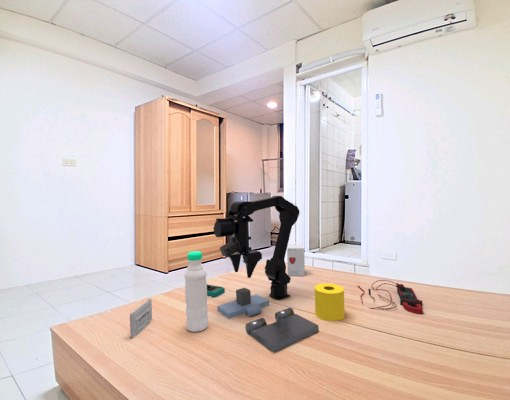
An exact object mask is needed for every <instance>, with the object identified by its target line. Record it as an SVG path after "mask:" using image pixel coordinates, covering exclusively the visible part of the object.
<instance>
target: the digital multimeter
mask: <svg viewBox="0 0 510 400" xmlns="http://www.w3.org/2000/svg"><path fill="white" fill-rule="evenodd" d="M225 290H226V289H225V287H224V286H217V285H211V284H207V297H210V296H211V298H214V297H215V298H217V297H219V296H221V295H223V294H224V293H225V292H226V291H225Z"/></svg>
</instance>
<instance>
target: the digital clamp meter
mask: <svg viewBox="0 0 510 400" xmlns="http://www.w3.org/2000/svg"><path fill="white" fill-rule="evenodd" d="M381 281H382V282H383V281H385V282H390V283H381V284H380V285H378V286H377V287H376V288H374V287H373V285H374V284H375V283H377V282H381ZM391 283H392V284H391ZM382 285H390V286H393V287H396V293H397V295H398V297H399V299H400V300H399V302H400V306H402V308H403V309H404V310H405V311H407V312H409V313H411V314H415V315H423V300H421V299H418V297H417V295H416V293H415V291H414V289H413V288H412V287H406V286H405V285H404V284H403V283H398V282H393V281H391V280H386V279H385V280H384V279H379V280H376V281H374V282H373V283H372V284H371V288H370V287H369V288H368V289H367V290H368V295H369V296H370V297H371V298H373V299H375V297H374V296H372V294H371V291H372V289H373V290H375V291H385V292H387V293H388V294H389V297H390V299H388V298H386V297H383V296H382V295H380V294H379V293H378V294H377V295H378V296H379V297H381V298H382V299H385V300H387V301H389V302H390V303H389V304H387V305H383V306H377V307H367V309H370V310H372V309H374V310H375V309H379V310H383V308H384V307H386V310H391V309H395V308H397V304H396V302H394V301H393V300H392V295H391V293H390V292H389V291H388V290H387V289H380V288H379V287H381V286H382ZM357 288H358V289H359V290H361V291H362V292H363V293H361V294H360V295H359V297H360V300H361V304H362V305H364V301H363V298H362V296H363V295H364V294H365V290H364V289H363V288H362V287H361V286H360V285H357ZM392 303H393V305H395V306H394V307H393V306H392V307H390V308H389V307H388V306H390V305H391V304H392ZM387 307H388V308H387Z"/></svg>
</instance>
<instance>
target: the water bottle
mask: <svg viewBox="0 0 510 400" xmlns="http://www.w3.org/2000/svg"><path fill="white" fill-rule="evenodd" d="M202 261H203V253H202V251H198V250H197V251H196V250H195V251H190V252H188V253H187V262H188V265H187V267H186V270H185V272H184V279H185V280H184V281H185V283H184V284H185V285H184V290H185V291H184V294H185V295H184V297H185V304H186V306H185V307H186V308H185V317H186V320H185V322H186V329H187V330H188V331H189V332H192V333H193V332H194V333H196V332H197V333H198V332H202V331H203V330H205V329H207V328H208V326H209V316H208V314H209V313H208V310H209V309H208V296H207V285H208V284H207V271H206V269H205V267H204V265H203V264H202Z"/></svg>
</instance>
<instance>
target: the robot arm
mask: <svg viewBox="0 0 510 400" xmlns="http://www.w3.org/2000/svg"><path fill="white" fill-rule="evenodd" d="M273 207H274V209H275V210H276V211H277V212H278V213H279V215H278V219H279V223H280V225H279V231H278V234H277V237H276V242H275V246H274V250H273V254H272V257H271V258H270V259H266V264H265V266H264V267H263V268H264V274H265V275H266V277H267V279H268V281H271V282H270V293H269V294H268V295H269V296H270V297H272V298H274V299H275V300H277V301H278V300H279V301H280V300H283V299H285V298H289V297H290V296H291V294H289V293H288V284H290V283H291V276H288V273H287V272H286V269H287V266H286V262H285V261H286V260H285V258H286V254H287V247H288V245H289V240H290V236H291V232H292V229H293V226H294V225H295V224H296V223H297V222H298V219H299V216H300V212H301V211H300V210H299V207H298V205H295V204H294V203H292V202H291V201H289V200H287V199H285V198H284V196H282V195H273V196H270V197H265V198H261V199H257V200H252V201H241V200H240V201H239V200H238V201H233V202H232V203H231V205H230V209H229V211H228V212H227V214H226V216H225V217H223V218H222V217H221V218H218V217H217V218H216V219H215V223H214V225H213V233H214V235H215V237H216V238H225V237H230V242H227V243H225V244H223V245H221V246H220V247H219V251H220V253H221V256H222V257H226V258H229V259H230V261H231V264H232V267H233V271H234V273H238V272H239V268H240V263H241V259H242V262H243V263H244V264H245V266H246V267H245V268H246V274H247V275H246V276H247V279H250V278H251V277H252V276H253V272H254V271H255V269H256V266H257V264H258V263H259V262H260V261H261V260H262V259H263V253H262V252H261V251H259V250H255V249H253V250H252V247H250V240H252V236H250V233H249V223H251V222H252V223H253V222H254V219H253V218H252V217H250V216H251V215H253V214H254V213H255V212H257V211H260V210H265V209H268V208H273ZM231 236H232V237H231Z"/></svg>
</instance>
